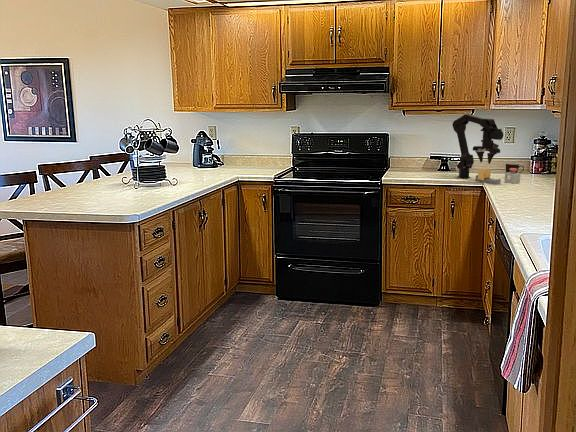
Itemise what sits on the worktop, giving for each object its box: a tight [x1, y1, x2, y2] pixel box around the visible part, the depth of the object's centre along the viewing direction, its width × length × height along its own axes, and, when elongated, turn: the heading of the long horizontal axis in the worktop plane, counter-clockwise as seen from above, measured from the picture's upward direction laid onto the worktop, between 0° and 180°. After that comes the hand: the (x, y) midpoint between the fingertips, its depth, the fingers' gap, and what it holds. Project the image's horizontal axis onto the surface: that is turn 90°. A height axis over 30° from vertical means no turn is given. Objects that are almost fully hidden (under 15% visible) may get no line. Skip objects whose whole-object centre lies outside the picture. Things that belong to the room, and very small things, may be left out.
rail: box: [475, 174, 502, 185], centre depth 380 cm, size 19×3×3 cm, turn 26°
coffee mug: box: [505, 162, 525, 174], centre depth 396 cm, size 12×9×10 cm
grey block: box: [504, 172, 521, 184], centre depth 380 cm, size 7×6×6 cm
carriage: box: [477, 168, 492, 180], centre depth 383 cm, size 5×6×6 cm
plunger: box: [510, 168, 517, 174], centre depth 379 cm, size 4×4×6 cm
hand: (485, 163), depth 381 cm, fingers open, 7 cm apart
